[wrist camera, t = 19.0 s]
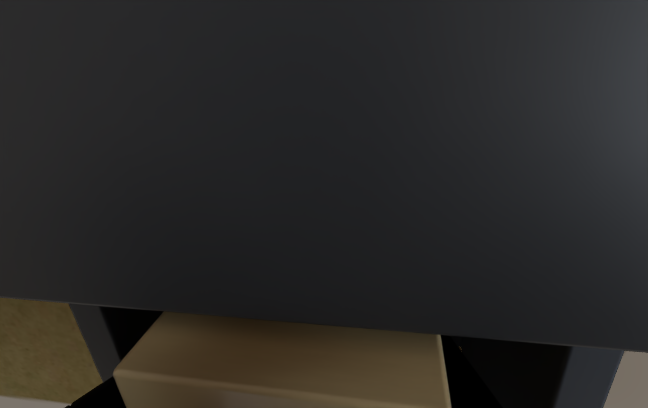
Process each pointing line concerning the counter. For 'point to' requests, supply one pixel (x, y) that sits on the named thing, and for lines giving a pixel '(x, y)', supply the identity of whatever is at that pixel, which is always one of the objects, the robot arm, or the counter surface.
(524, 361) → the pulled-out drawer
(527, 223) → the drawer cabinet
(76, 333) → the counter surface
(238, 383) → the block
